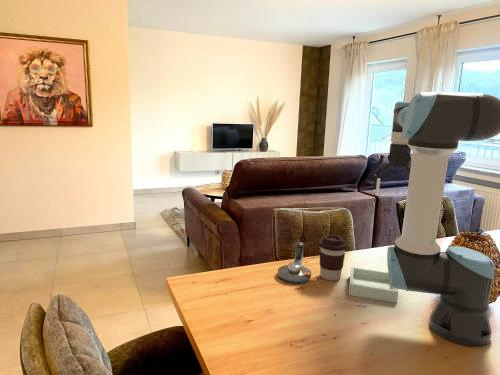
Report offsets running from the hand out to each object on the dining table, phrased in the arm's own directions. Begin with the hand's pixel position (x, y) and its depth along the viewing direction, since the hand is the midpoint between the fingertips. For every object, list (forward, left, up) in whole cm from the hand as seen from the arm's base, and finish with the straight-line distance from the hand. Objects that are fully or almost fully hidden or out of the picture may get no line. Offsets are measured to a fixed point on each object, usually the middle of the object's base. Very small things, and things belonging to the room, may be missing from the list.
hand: (394, 197), depth 147 cm
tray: (-28, +7, -27) cm, 39 cm away
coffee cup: (-23, +21, -27) cm, 41 cm away
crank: (-23, +34, -25) cm, 48 cm away
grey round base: (-28, +34, -27) cm, 51 cm away
